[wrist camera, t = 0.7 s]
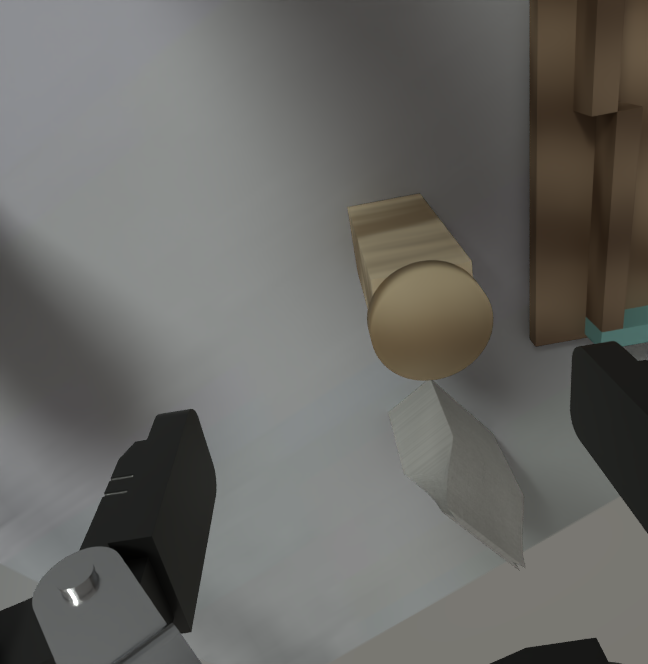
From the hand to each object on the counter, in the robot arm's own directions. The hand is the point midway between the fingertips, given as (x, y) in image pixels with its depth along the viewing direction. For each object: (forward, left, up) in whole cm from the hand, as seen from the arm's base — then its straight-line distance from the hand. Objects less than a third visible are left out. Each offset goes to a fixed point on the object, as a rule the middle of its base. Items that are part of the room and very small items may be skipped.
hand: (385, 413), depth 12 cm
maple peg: (+4, +3, -21) cm, 21 cm away
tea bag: (+18, +5, -21) cm, 28 cm away
